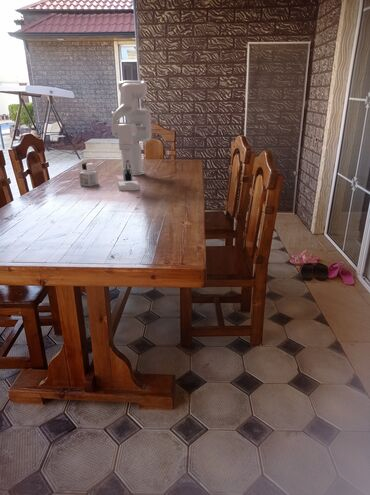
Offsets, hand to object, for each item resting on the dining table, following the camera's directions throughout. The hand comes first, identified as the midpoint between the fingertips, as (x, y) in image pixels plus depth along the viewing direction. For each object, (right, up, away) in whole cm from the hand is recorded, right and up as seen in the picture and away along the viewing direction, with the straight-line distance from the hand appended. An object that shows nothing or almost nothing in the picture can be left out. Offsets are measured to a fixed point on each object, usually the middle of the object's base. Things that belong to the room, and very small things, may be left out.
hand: (127, 179), depth 214 cm
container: (-25, -1, +11) cm, 27 cm away
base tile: (0, -5, +2) cm, 5 cm away
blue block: (0, -1, 0) cm, 1 cm away
